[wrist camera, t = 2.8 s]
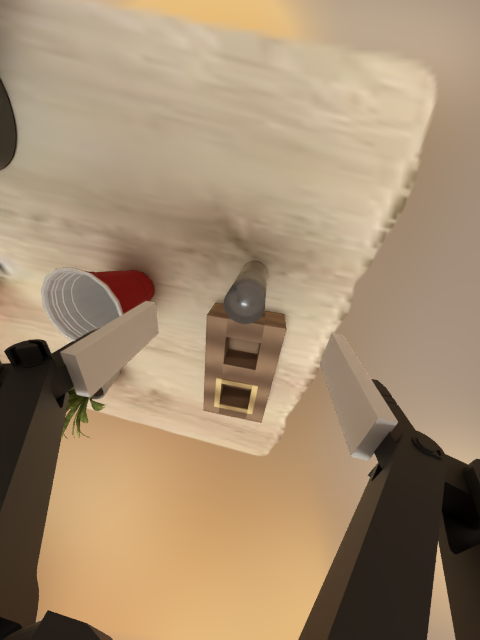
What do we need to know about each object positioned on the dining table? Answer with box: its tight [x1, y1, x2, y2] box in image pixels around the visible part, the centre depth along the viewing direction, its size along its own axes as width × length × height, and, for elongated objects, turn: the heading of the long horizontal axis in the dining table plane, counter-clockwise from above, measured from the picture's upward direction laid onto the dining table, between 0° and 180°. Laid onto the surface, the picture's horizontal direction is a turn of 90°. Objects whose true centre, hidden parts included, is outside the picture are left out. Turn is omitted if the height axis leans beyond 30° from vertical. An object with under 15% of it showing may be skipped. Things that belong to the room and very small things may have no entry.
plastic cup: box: [41, 267, 154, 341], centre depth 29 cm, size 11×11×12 cm
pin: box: [224, 261, 267, 324], centre depth 24 cm, size 4×4×13 cm
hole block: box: [203, 303, 286, 423], centre depth 36 cm, size 22×12×5 cm, turn 174°
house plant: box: [61, 369, 121, 438], centre depth 37 cm, size 14×14×16 cm
